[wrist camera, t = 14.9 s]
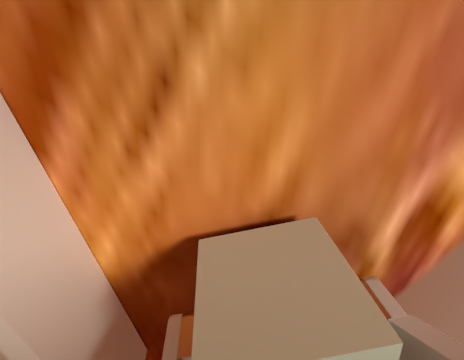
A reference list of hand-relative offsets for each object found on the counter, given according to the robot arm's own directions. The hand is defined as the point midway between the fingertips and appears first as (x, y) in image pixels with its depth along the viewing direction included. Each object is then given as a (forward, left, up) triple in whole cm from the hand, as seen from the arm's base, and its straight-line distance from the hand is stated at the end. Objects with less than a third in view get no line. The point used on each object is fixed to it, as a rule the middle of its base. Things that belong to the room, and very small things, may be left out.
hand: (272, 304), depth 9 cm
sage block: (0, 0, -2) cm, 2 cm away
